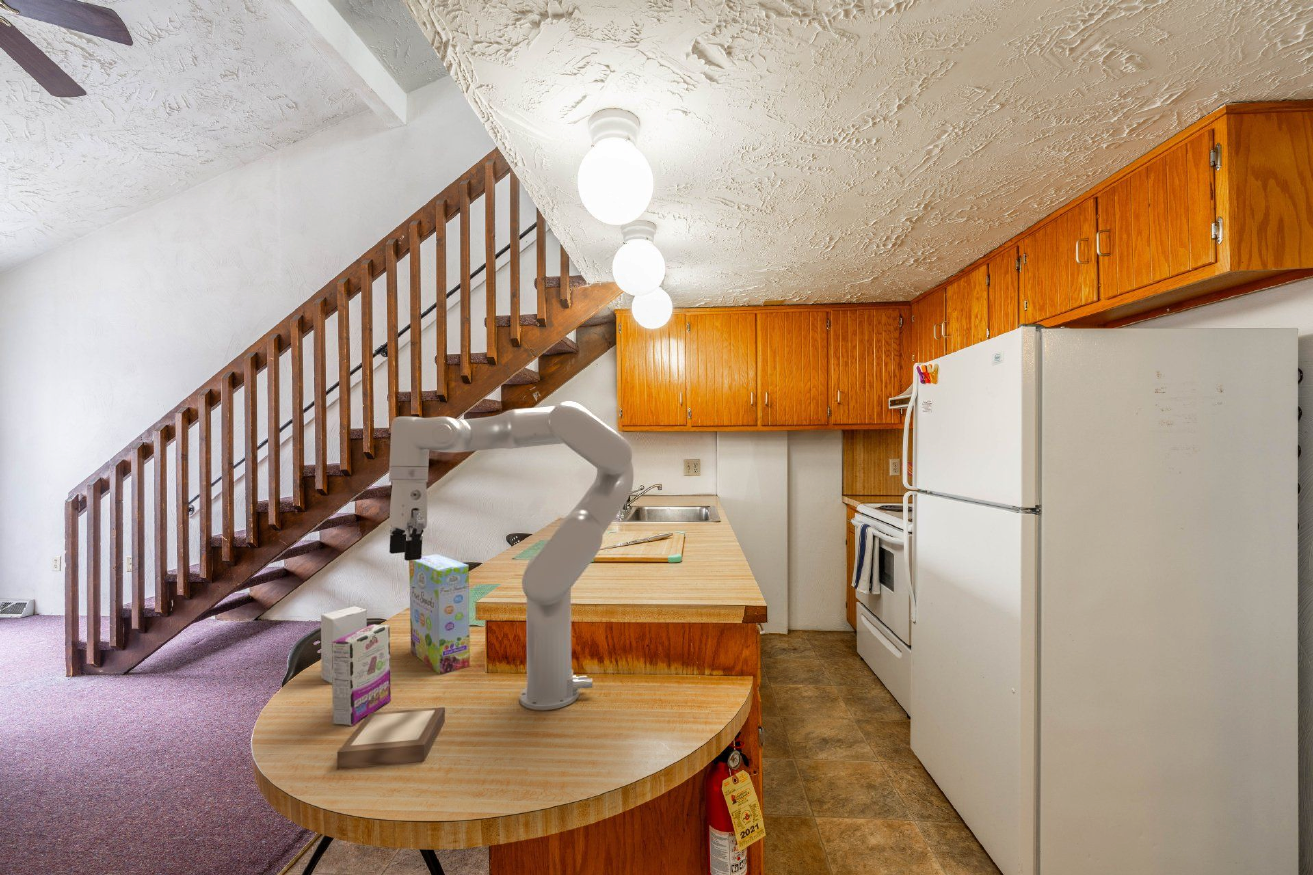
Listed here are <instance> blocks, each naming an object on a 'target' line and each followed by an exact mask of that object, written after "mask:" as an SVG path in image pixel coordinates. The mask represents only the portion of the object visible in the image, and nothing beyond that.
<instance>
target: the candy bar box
mask: <svg viewBox="0 0 1313 875" xmlns="http://www.w3.org/2000/svg"><path fill="white" fill-rule="evenodd" d="M390 626H391V625H389V624H375V623H374V624H369V625H368V626H367V627H365V628H362V629H360V630H358V631H356V632H353V633H351V634H349V635H347V636H345V637H342V638H340V639H338V640H336V641H333V642H332V677H333V684H332V724H333V725H335V726H336V725H337V726H349V727H350V726H351V727H353V726H355V725H356V724H358V723H360V722H361V721H364V719H365V718H366V717H367V716H368V714H369V713H376V711H378V710H379V709H381V708H382V707H383V706H385V705H387V704H388V703H389V702H391V700H392V699H391V698H392V697H391V695H392V694H391V690H392V689H391V642H390V641H391V640H390V637H391V635H390V632H391V630H390V629H391V628H390Z"/></svg>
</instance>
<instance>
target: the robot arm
mask: <svg viewBox="0 0 1313 875" xmlns="http://www.w3.org/2000/svg"><path fill="white" fill-rule="evenodd" d="M390 426H391V427H390V447H389V448H390V450H389V452H390V453H389V468H388V469H389V470H388V482H390V483H392V486H391V487H392V488H391V494H390V495H391V496H390V503H389V505H390V506H389V524H390V530H389V535H390V536H389V551H388V552H389V554H404V556H403V557H404V558H403V559H404V561H406V562H409V560H419V559H421V557H422V555H423V554H422V552H423V538H424V535H423V533H424V530H425V529H426V528H427V527H428V492H427V490H428V488H427V483H428V481H429V465H430V464H429V463H430V462H429V461H430V451H433V452H434V451H435V452H441V453H464V452H476V451H477V452H478V451H486V450H496V449H519V448H529V447H530V448H531V447H541V446H550V445H551V446H553V445H561V444H563V445H565V446H567V447H568V448H569V449H571V450H572V451H573V452H575V453H576V454H577V455H578V456H580V457H581V458H583V459H584V460H585V461H587V462H588V463H589V464H591V465H592V466H593V467H595V468H596V471H597V472H596V477H595V478H594V480H593V483H592V484H591V485H590V487H589V489H587V491H586V492H585V494H584V495H583V497H582V498H581V499H580V500H579V502H578V503H577V504H576V505H575V507H574V508H573V509H572V510H571V511H570V512H569V513H568V515H566V516H565V517H564V518H563V519H562V520H561V521H560V522H559V523H560V524H559V525H558V528H557V529H556V531H555V532H554V533H553V534H552V536H551V537H550V539H548V540H547V542H546V543H545V545H544V546H543V547H542V548H541V550H540V551H538V552H536V553H535V554H534V555H533V556H532V557H531V558H530V560H529V561H528V563H527V565H526V567H525V570H524V571H523V574H522V579H521V586H522V587H521V588H522V591H523V593H524V595H525V597H526V687H525V688H523V690H521V692H520V693H519V704H520V705H522V706H523V707H525V708H527V709H530V710H534V711H550V710H556V709H560V708H564V707H566V706H569V705H570V704H572V703H574V702H575V701H577V699H578V698H579V696H580V689H593V688H594V686H593V685H594V684H593V677H592V678H588V675H580V676H577V675H576V674H575V675H574V669H572V587H573V586H574V584H576V582H577V581H578V580H579V578H580V577H581V576H582V574H584V572H585V571H586V569H587V568H588V567H589V566H590V564H591V563H592V562H593V560H594V559H595V558H596V556H597V554H598V553H599V551H600V549H601V547H602V544H603V539H604V538H603V537H604V536H603V535H604V533H605V532H606V531H607V529H608V528H609V526H610V525H611V524H612V523H613V521H614V520H615V519H616V517H617V516H618V514H619V513H620V511H621V510H622V508H624V506H625V504H626V502H627V501H628V499H629V498H630V495H631V492H632V489H633V485H634V474H635V473H634V465H633V462H632V459H633V451H632V447H631V444H630V443H629V442H628V440H627V439H626V438H624V437H623V436H622V435H621V434H619V433H618V432H617V431H615V430H614V429H613V428H611V427H610V426H608V424H606V423H604V422H603V421H602V420H601V419H599V418H598V417H597V416H596V415H594V414H593V413H591V412H590V411H589V410H588V409H587V408H585V407H584V406H583V405H581V404H579V403H578V402H574V401H571V400H570V401H569V400H568V401H563V402H560V403H558V404H556V405H549V406H539V407H525V408H514V409H510V410H506V411H504V412H503V413H500V414H497V415H493V416H486V417H476V418H467V419H464V418H463V419H457V418H454V417H450V416H434V417H419V416H397V417H395V418H393V419H392V421H391V425H390Z"/></svg>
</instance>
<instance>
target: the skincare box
mask: <svg viewBox="0 0 1313 875" xmlns="http://www.w3.org/2000/svg"><path fill="white" fill-rule="evenodd" d="M367 611H368V610H367V609H365V608H362V607H359V606H355V605H354V606H350V607H346V608H341V609H338V610H334V611H330V612H326V613H322V614H320V641H321V644H320V647H321V648H320V649H321V650H320V651H321V652H320V655H321V656H320V658H321V660H320V661H321V664H320V666H321V673H320V676H321V679H322V680H324V681H326V682H328V683H330V684H331V685H333V677H332V642H333V641H336V640H338V639H340V638H342V637H345V636H347V635H349V634H351V633H353V632H356V631H358V630H360V629H362V628H365V627H367V617H368V614H367V613H368V612H367Z"/></svg>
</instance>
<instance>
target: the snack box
mask: <svg viewBox="0 0 1313 875" xmlns="http://www.w3.org/2000/svg"><path fill="white" fill-rule="evenodd" d="M469 568H470V567H469V564H466V563H463V562H461V561H458V560H455V559H453V558H449V557H447V556H444V555H441V554H437V553H435V554H430V555H429V554H428V555H423V556H422V557H421V559H419V560H409V561H408V570H409V571H408V572H409V573H408V574H409V575H408V576H409V606H410V607H409V618H410V620H409V623H410V624H409V625H410V626H409V628H410V653H412V654H413V655H415V656H416V657H417V658H419V659H420V660H421V661H423V663H425V664H426V665H427V666H429V667H430V668H431V669H433V671H435V672H436V673H437V674H438V675H443V674H447V673H451V672H454V671H457V670H461V669H465V668H468V667H470V666H471V654H470V653H471V651H470V650H471V649H470V648H471V645H470V642H471V641H470V639H471V638H470V637H471V636H470V584H469V583H470V582H469V581H470V580H469V579H470V578H469V577H470V576H469V574H470V573H469Z"/></svg>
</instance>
